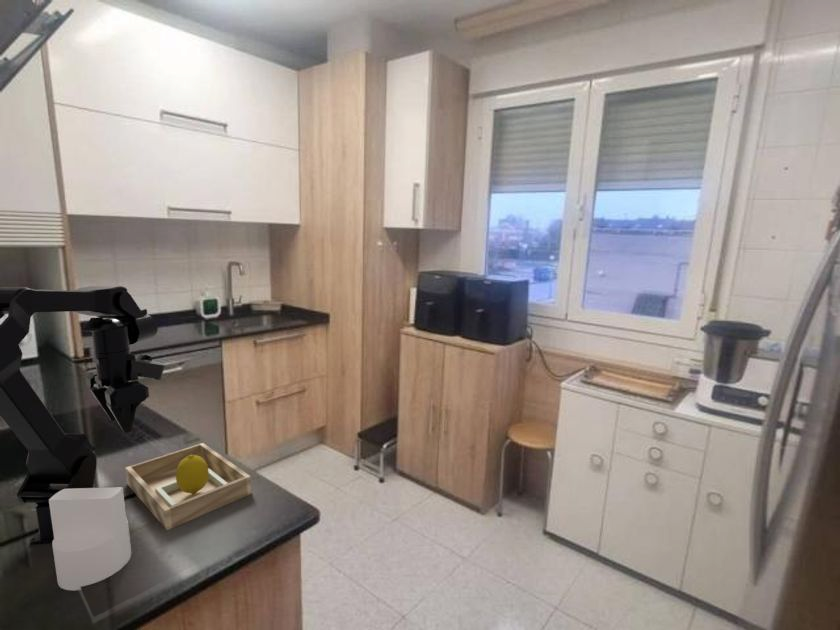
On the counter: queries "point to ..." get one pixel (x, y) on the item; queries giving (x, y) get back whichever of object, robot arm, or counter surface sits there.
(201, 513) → the walled box
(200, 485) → the lemon
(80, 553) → the grey upright block
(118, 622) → the counter surface
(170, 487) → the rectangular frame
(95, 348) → the robot arm
